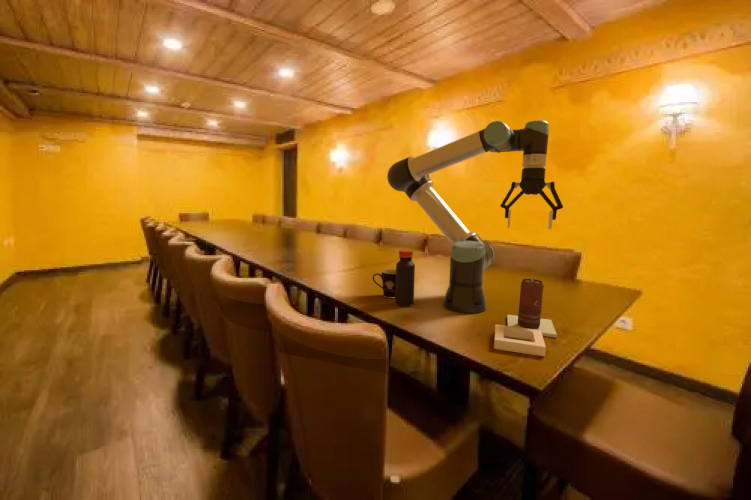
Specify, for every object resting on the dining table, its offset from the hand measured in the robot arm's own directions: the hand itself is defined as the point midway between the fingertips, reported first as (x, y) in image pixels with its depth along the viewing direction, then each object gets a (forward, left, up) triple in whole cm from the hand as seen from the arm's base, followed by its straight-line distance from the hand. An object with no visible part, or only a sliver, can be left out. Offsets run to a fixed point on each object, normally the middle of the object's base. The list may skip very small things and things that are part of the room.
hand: (528, 228), depth 123 cm
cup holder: (-3, -38, -29) cm, 48 cm away
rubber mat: (+1, -23, -29) cm, 37 cm away
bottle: (-41, -16, -29) cm, 53 cm away
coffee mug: (-50, -7, -29) cm, 58 cm away
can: (0, -25, -28) cm, 38 cm away
